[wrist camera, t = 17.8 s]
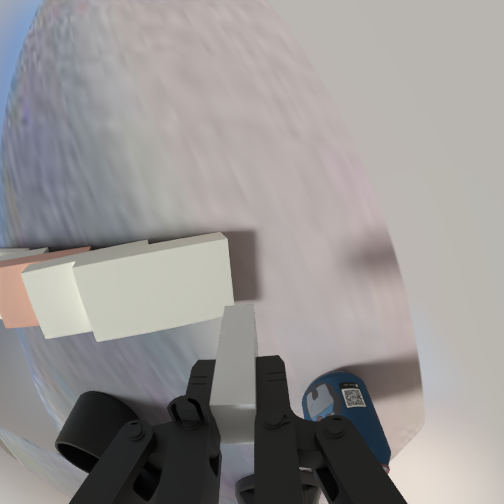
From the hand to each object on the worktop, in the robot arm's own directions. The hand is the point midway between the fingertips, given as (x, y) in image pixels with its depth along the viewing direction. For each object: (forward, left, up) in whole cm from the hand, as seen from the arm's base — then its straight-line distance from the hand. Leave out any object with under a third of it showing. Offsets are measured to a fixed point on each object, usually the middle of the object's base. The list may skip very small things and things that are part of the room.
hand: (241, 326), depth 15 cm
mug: (-21, +19, -8) cm, 29 cm away
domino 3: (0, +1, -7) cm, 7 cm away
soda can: (-15, -8, -8) cm, 19 cm away
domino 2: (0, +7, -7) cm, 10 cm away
